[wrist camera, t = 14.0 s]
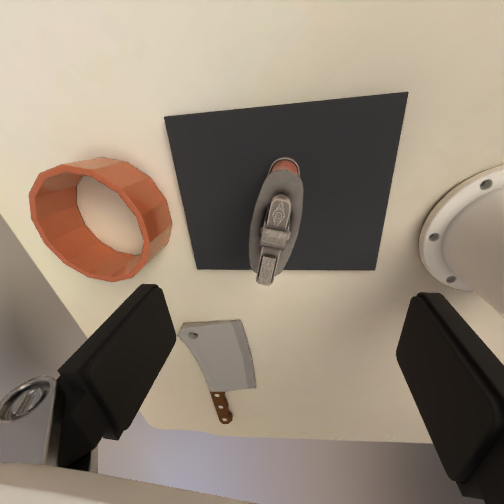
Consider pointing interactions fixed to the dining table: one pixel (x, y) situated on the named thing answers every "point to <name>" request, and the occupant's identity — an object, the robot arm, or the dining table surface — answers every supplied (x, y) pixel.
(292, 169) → the lighter
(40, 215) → the orange hollow ring
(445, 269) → the robot arm
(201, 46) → the dining table surface
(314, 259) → the mat
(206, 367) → the kitchen cleaver
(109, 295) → the dining table surface
